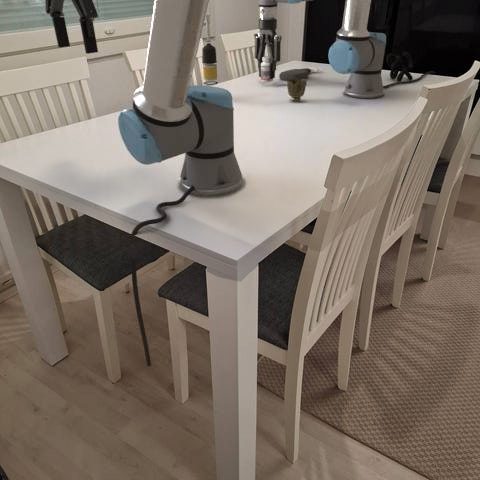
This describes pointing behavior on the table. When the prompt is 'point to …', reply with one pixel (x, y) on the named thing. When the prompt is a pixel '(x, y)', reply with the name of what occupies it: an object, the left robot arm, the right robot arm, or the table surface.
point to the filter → (209, 58)
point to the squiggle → (399, 66)
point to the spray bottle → (297, 73)
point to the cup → (296, 88)
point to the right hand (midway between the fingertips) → (266, 77)
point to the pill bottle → (265, 69)
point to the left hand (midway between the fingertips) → (77, 49)
